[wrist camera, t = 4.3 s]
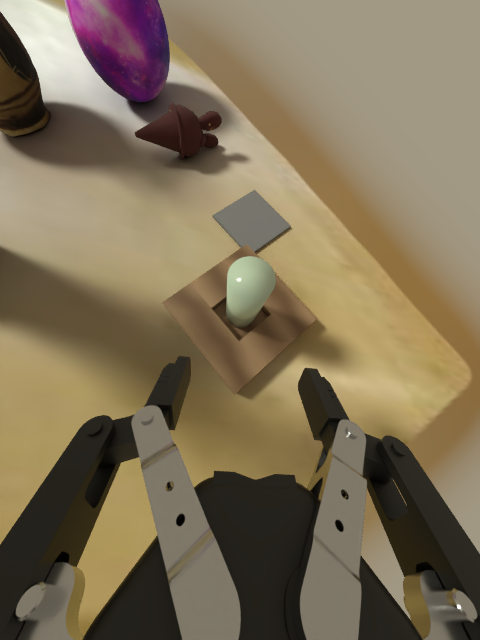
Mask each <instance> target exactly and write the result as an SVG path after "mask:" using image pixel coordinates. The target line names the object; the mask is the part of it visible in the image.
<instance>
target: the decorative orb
mask: <svg viewBox="0 0 480 640" xmlns="http://www.w3.org/2000/svg"><path fill="white" fill-rule="evenodd" d="M64 1H65V6H66V10H67V14H68V17H69V20H70V23H71V26H72V29H73V31H74V34H75V36H76V38H77V41H78V43H79V45H80V47H81V49H82V51H83V52H84V54H85V56H86V58H87V59H88V61H89V62H90V64H91V65H92V67H93V68H94V70H95V71H96V72H97V74H98V75H99V76H100V77H101V78H102V79H103V81H104V82H105V83H106V84H107V85H108V86H109V87H111V88H112V89H113V90H114V91H115V92H117V93H118V94H120V95H121V96H123V97H125V98H127V99H129V100H132V101H135V102H147V101H150V100H152V99H154V98H155V97H157V96H158V95H159V94H160V92H161V91H162V89H163V87H164V85H165V83H166V80H167V76H168V72H169V62H170V52H169V41H168V34H167V30H166V25H165V21H164V17H163V14H162V11H161V8H160V5H159V3H158V0H64Z"/></svg>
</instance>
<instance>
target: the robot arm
mask: <svg viewBox="0 0 480 640" xmlns="http://www.w3.org/2000/svg"><path fill="white" fill-rule="evenodd" d="M190 376H191V364H190V357H184V356H178V358H177V360H176V363H175V364H173V363H169V364H168V365H167V366H166V367H165V368H164V369H163V370H162V373H161V375H160V377H159V379H158V381H157V383H156V385H155V387H154V389H153V391H152V393H151V395H150V397H149V399H148V401H147V403H146V405H145V406H144V407H143V408H141V409H140V410H139V411H137V412H136V414H134V415H132V416H129V417H125V418H121V419H116V420H112V419H111V418H110V417H109V416H105V415H102V416H97V417H94V418H92V419H90V420H89V421H87V422H86V423H85V424H83V425H82V427H81V428H80V429H79V430H78V432H77V433H76V435H75V436H74V438H73V439H72V441H71V442H70V444H69V445H68V446H67V448H66V449H65V451H64V452H63V454H62V455H61V457H60V458H59V460H58V461H57V463H56V464H55V466H54V467H53V468H52V470H51V471H50V473H49V474H48V476H47V477H46V479H45V480H44V482H43V483H42V485H41V486H40V487H39V489H38V490H37V492H36V493H35V495H34V496H33V498H32V499H31V501H30V502H29V504H28V505H27V507H26V508H25V509H24V511H23V512H22V514H21V515H20V517H19V518H18V520H17V521H16V523H15V524H14V526H13V527H12V529H11V530H10V531H9V533H8V534H7V536H6V537H5V539H4V540H3V542H2V543H1V545H0V640H480V554H479V552H478V551H477V549H476V548H475V546H474V545H473V543H472V542H471V540H470V539H469V538H468V536H467V535H466V533H465V531H464V530H463V529H462V527H461V526H460V525H459V523H458V521H457V519H456V518H455V516H454V515H453V514H452V512H451V511H450V509H449V508H448V506H447V505H446V503H445V502H444V500H443V499H442V497H441V496H440V494H439V493H438V491H437V490H436V488H435V487H434V485H433V484H432V482H431V481H430V479H429V478H428V476H427V475H426V473H425V472H424V471H423V469H422V467H421V466H420V464H419V463H418V461H417V460H416V459H415V457H414V455H413V454H412V452H411V451H410V450H409V448H408V447H407V446H406V445H405V444H404V443H403V442H401V441H400V440H398V439H397V438H395V437H392V436H384V437H383V438H382V439H381V440H380V439H378V438H375V437H373V436H370V435H367V434H365V433H364V432H363V431H362V429H361V428H360V427H359V426H358V425H357V424H355V423H354V422H352V421H350V420H349V418H348V416H347V414H346V413H345V411H344V409H343V407H342V405H341V403H340V401H339V399H338V398H337V396H336V394H335V392H334V390H333V388H332V386H331V384H330V383H329V382H328V381H327V380H326V379H325V378H324V377H321V376H320V374H319V372H318V370H317V369H312V368H305V369H304V371H303V373H302V375H301V378H300V380H299V383H298V391H299V394H300V397H301V400H302V403H303V406H304V409H305V412H306V415H307V418H308V421H309V425H310V428H311V431H312V434H313V437H314V440H321V441H322V443H323V446H322V448H321V451H320V454H319V457H318V460H317V463H316V466H315V470H314V473H313V476H312V478H311V480H310V482H309V484H308V486H307V488H305V487H304V486H302V485H301V484H299V483H297V482H296V480H295V475H281V474H274V475H271V476H268V477H264V478H261V479H258V480H254V479H251V478H248V477H246V476H243V475H241V474H238V473H236V472H224V471H214V477H212V478H208V479H206V480H204V481H202V482H201V483H199V484H198V485H197V486H196V487H193V485H192V482H191V480H190V477H189V475H188V472H187V470H186V467H185V465H184V462H183V460H182V457H181V455H180V452H179V450H178V448H177V446H176V444H174V442H173V439H172V437H171V434H170V432H169V430H175V428H176V424H177V421H178V418H179V415H180V411H181V408H182V405H183V401H184V398H185V395H186V391H187V388H188V385H189V381H190ZM137 457H140V461H141V468H142V472H143V477H144V481H145V485H146V489H147V493H148V497H149V501H150V505H151V510H152V514H153V518H154V522H155V526H156V530H157V534H158V535H157V536H156V538H155V539H154V540H153V542H152V543H151V544H150V546H149V547H148V548H147V550H146V551H145V552H144V554H143V555H142V556H141V558H140V559H139V560H138V562H137V563H136V564H135V566H134V567H133V568H132V570H131V571H130V572H129V574H128V575H127V576H126V578H125V579H124V581H123V582H122V583H121V585H120V586H119V587H118V589H117V590H116V591H115V593H114V594H113V595H112V597H111V598H110V599H109V601H108V602H107V603H106V605H105V606H104V607H103V609H102V610H101V611H100V613H99V614H98V615H97V617H96V618H95V620H94V621H93V623H92V624H91V626H90V627H89V629H88V631H87V632H86V634H85V636H83V635H82V633H81V631H80V629H79V624H78V615H79V608H80V604H81V601H82V597H83V594H84V589H85V577H84V574H83V572H82V570H80V569H79V568H77V565H78V562H79V560H80V558H81V555H82V553H83V551H84V548H85V546H86V544H87V541H88V539H89V537H90V534H91V532H92V529H93V527H94V525H95V522H96V520H97V518H98V515H99V513H100V511H101V508H102V506H103V504H104V501H105V499H106V497H107V494H108V492H109V489H110V487H111V485H112V482H113V480H114V478H115V475H116V473H117V471H118V468H119V466H120V464H121V462H124V461H128V460H131V459H134V458H137ZM393 479H394V481H395V483H396V485H397V487H398V489H399V490H400V492H401V494H402V496H403V498H404V500H405V502H406V504H407V506H406V504H405V502H404V500H403V498H402V497H401V495H400V493H399V491H398V489H397V487H396V485H395V483H394V481H393ZM367 489H368V491H369V493H370V496H371V498H372V501H373V503H374V505H375V508H376V510H377V513H378V515H379V517H380V519H381V522H382V524H383V527H384V529H385V531H386V534H387V536H388V538H389V541H390V544H391V546H392V548H393V551H394V553H395V555H396V558H397V560H398V562H399V565H400V567H401V570H402V572H403V575H404V577H405V578H404V581H403V590H404V595H405V596H404V604H405V607H406V609H407V611H408V613H409V615H410V618H411V620H410V619H409V618H408V616H407V615H406V614H405V612H404V611H403V610H402V609H401V607H400V606H399V605H398V603H397V602H396V601H395V599H394V598H393V597H392V596H391V594H390V593H389V592H388V590H387V589H386V588H385V586H384V585H383V584H382V583H381V581H380V580H379V579H378V577H377V576H376V575H375V573H374V572H373V571H372V569H371V568H370V567H369V565H368V564H367V563H366V562H365V560H364V559H363V558H362V556H361V545H362V534H363V523H364V512H365V501H366V490H367Z"/></svg>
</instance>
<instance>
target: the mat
mask: <svg viewBox="0 0 480 640" xmlns="http://www.w3.org/2000/svg"><path fill="white" fill-rule="evenodd" d="M213 218H214V219H215V220H216V221H217V222H218V223H219V224H220V225H221V226H222V228H223V229H224V230H225V231H226V232H227V233H228V234H229V235H230V236H231V237H232V238H233V239H234V241H235V242H236V243H237V244H238V245H239V246H240V247H241V248H242V247H243V246H245V245H246V244H247V245H248V246H249V247H250V248H251V249H252V250H253V251H254V252H256V251H258V250H259V249H260V248H262V247H263V246H265V245H266V244H267V243H269V242H270V241H272V240H273V239H274V238H276V237H277V236H279V235H280V234H281V233H283V232H284V231H286V230H287V229H288V228H290V225H289V224H288V223H287V222H286V221H285V220H284V219H283V218H282V217H281V216H280V215H279V214H278V213H277V212H276V211H275V210H274V209H273V208H272V207H271V206H270V205H269V204H268V203H267V202H266V201H265V200H264V199H263V198H262V197H261V196H260V195H259V194H258V193H257V192H256V191H255V190H254V191H252V192H250V193H249V194H247V195H245V196H244V197H242V198H240V199H239V200H237V201H236V202H234V203H232V204H231V205H229V206H227V207H226V208H224V209H222V210H221V211H219V212H217V213H216V214H214V215H213Z"/></svg>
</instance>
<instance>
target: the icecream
mask: <svg viewBox="0 0 480 640" xmlns="http://www.w3.org/2000/svg"><path fill="white" fill-rule="evenodd" d="M168 110H169V113H167V114H165V115H164V116H162V117H160V118H159V119H157V120H155V121H153V122H152V123H150V124H148V125H147V126H145V127H143V128H141V129H140V130H138V131H137V132H135V135H136V137H137V138H140V139H143V140H146V141H149V142H152V143H154V144H157V145H160V146H162V147H165V148H168V149H171V150H173V151H176V152H179V153H180V157H181V159H182V160H183V158H184V156H187V157H188V156H194V155H195V154H196V153H197V152H198V151H199V149H200V148H201V147H203V146H204V147H208V148H212V147H215V146H217V145H218V138H217V137H216V136H215V135H212V134H209V133H205V134H203V131H202V129H203V130H206V131H210V130H213V129H216V128H218V127H219V126H220V124H221V122H222V121H221V117H220V115H219V114H218V113H217V112H214V111H209V112H207V113H206V114H205V115H203V116H201V117H200V118H199V119H198V117H197V116H196V115H195V114H194V113H193V112H192V111H191V110H189V109H188V108H186V107H183V106H181V105H176V106H175V105H174V104H173V102H172V104H171V105H170V106H169V108H168Z"/></svg>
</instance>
